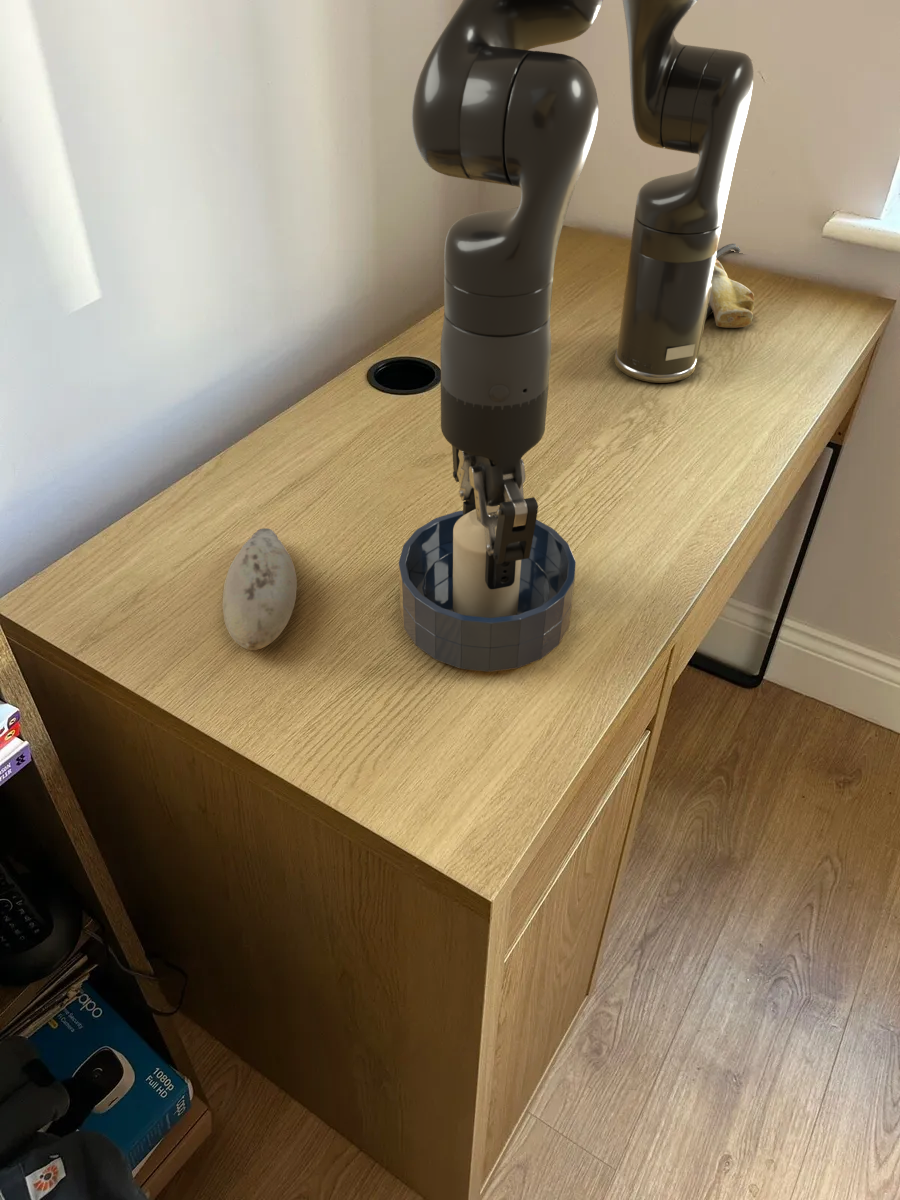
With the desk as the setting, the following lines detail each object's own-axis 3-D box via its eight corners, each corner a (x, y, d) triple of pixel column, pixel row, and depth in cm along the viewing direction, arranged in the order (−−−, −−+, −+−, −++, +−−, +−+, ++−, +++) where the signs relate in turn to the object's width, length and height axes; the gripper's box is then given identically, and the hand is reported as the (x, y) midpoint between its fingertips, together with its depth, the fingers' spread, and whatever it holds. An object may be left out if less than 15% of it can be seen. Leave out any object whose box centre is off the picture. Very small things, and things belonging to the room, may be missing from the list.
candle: (512, 636, 79) (518, 542, 72) (446, 627, 80) (446, 532, 73) (522, 592, 83) (528, 499, 76) (459, 584, 84) (460, 490, 77)
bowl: (480, 541, 89) (482, 488, 85) (602, 614, 82) (611, 560, 78) (367, 616, 82) (363, 562, 78) (490, 704, 75) (493, 649, 71)
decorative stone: (298, 541, 89) (294, 512, 87) (298, 661, 78) (294, 631, 76) (231, 546, 89) (226, 516, 86) (221, 667, 77) (214, 637, 75)
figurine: (769, 311, 119) (736, 246, 129) (735, 296, 117) (704, 231, 127) (743, 344, 123) (713, 278, 132) (709, 330, 121) (681, 264, 130)
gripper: (584, 419, 62) (562, 610, 74) (513, 320, 72) (503, 501, 84) (473, 436, 61) (468, 628, 72) (416, 333, 71) (420, 516, 82)
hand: (487, 559), depth 78 cm, fingers closed on candle, 5 cm apart
